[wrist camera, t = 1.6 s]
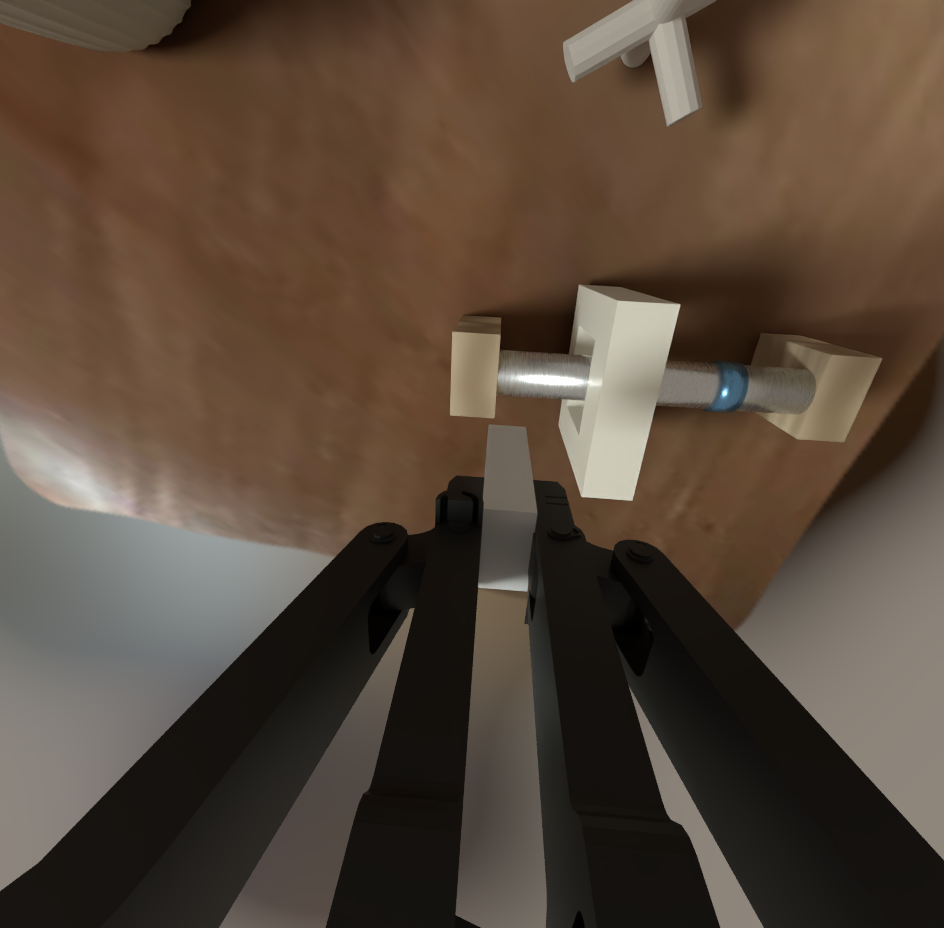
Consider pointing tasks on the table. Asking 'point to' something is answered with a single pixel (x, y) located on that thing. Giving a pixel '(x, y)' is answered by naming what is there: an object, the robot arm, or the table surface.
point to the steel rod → (665, 383)
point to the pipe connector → (644, 49)
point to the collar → (615, 386)
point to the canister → (97, 21)
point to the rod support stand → (833, 366)
